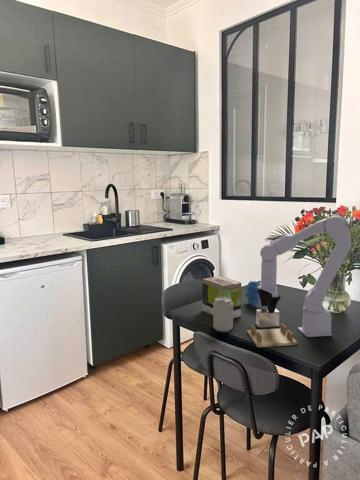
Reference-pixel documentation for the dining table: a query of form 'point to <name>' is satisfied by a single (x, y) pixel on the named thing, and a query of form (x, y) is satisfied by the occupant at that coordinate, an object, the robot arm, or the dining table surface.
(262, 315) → the block
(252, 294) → the grapes
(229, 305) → the can
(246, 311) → the dining table surface
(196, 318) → the dining table surface
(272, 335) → the tray
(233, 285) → the tea box
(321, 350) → the dining table surface
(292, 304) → the dining table surface
